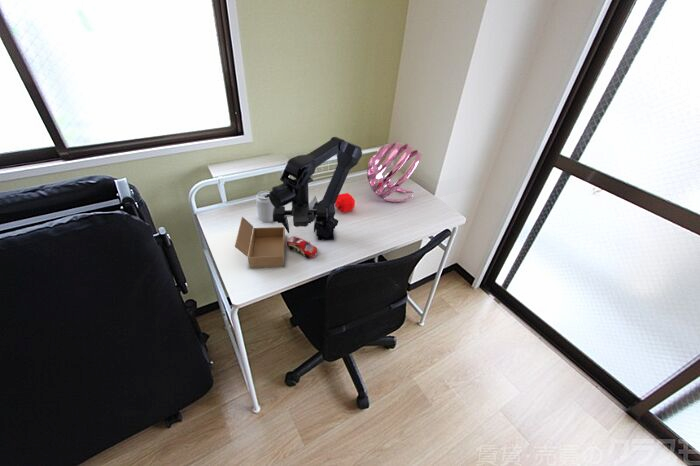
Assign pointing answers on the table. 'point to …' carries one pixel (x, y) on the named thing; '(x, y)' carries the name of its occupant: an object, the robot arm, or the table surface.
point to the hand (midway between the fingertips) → (301, 232)
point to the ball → (345, 203)
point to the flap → (244, 236)
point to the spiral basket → (386, 180)
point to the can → (264, 206)
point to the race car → (301, 247)
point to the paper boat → (313, 202)
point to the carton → (267, 247)
